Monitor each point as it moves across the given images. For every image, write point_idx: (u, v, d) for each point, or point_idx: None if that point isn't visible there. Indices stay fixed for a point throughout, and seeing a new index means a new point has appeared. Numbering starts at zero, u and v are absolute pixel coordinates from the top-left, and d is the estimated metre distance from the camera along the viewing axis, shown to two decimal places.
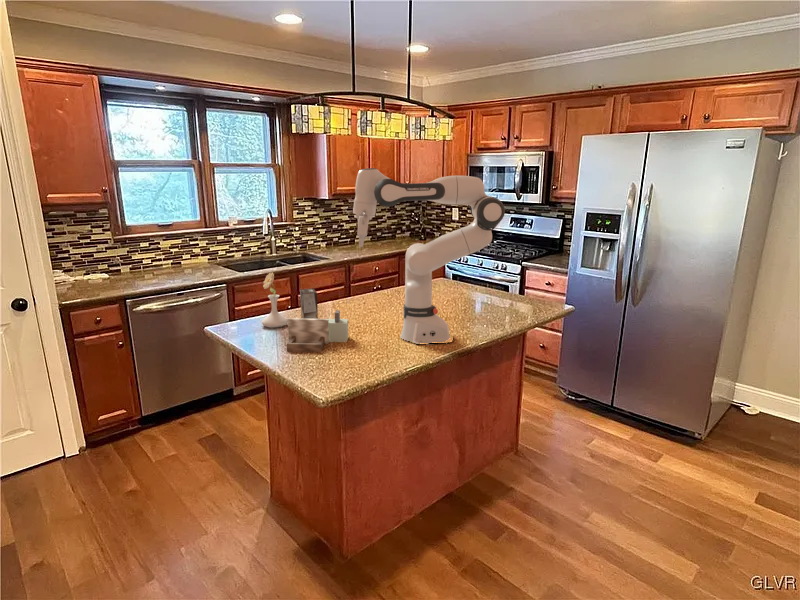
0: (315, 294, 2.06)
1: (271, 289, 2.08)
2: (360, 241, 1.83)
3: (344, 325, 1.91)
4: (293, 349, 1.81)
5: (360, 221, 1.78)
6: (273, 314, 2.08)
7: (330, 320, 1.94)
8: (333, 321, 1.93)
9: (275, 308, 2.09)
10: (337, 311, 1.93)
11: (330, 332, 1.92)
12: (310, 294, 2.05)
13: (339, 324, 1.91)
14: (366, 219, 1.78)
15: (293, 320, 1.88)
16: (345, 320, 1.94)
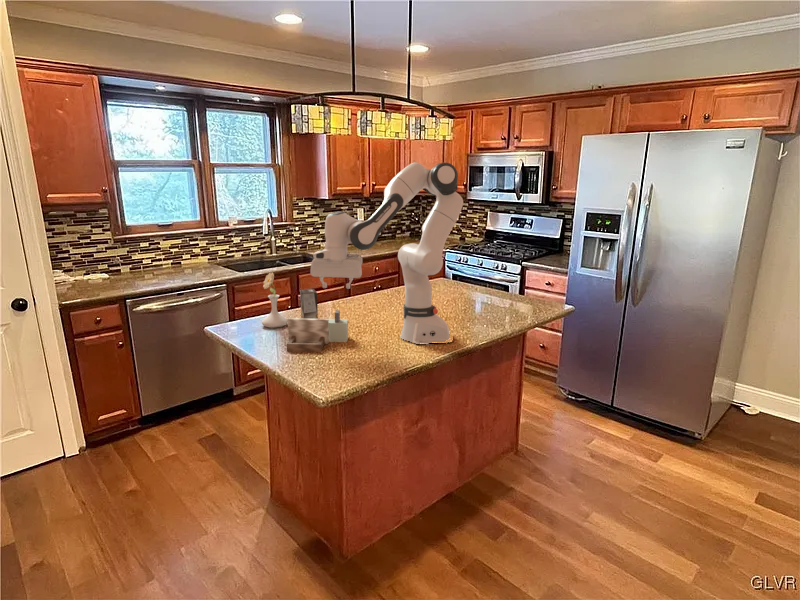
0: (315, 294, 2.06)
1: (271, 289, 2.08)
2: (350, 283, 1.89)
3: (344, 325, 1.91)
4: (293, 349, 1.81)
5: (360, 264, 1.86)
6: (273, 314, 2.08)
7: (330, 320, 1.94)
8: (333, 321, 1.93)
9: (275, 308, 2.09)
10: (337, 311, 1.93)
11: (330, 332, 1.92)
12: (310, 294, 2.05)
13: (339, 324, 1.91)
14: None
15: (293, 320, 1.88)
16: (345, 320, 1.94)
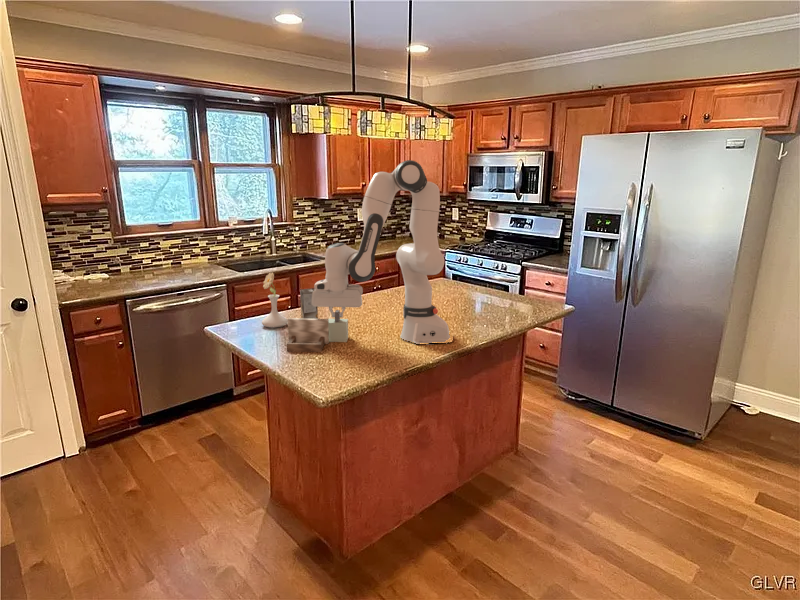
0: None
1: (271, 289, 2.08)
2: None
3: (344, 325, 1.91)
4: (293, 349, 1.81)
5: (360, 294, 1.89)
6: (273, 314, 2.08)
7: (330, 320, 1.94)
8: (333, 321, 1.93)
9: (275, 308, 2.09)
10: (337, 311, 1.93)
11: (330, 332, 1.91)
12: (310, 294, 2.05)
13: (339, 324, 1.91)
14: None
15: (293, 320, 1.88)
16: (345, 320, 1.94)
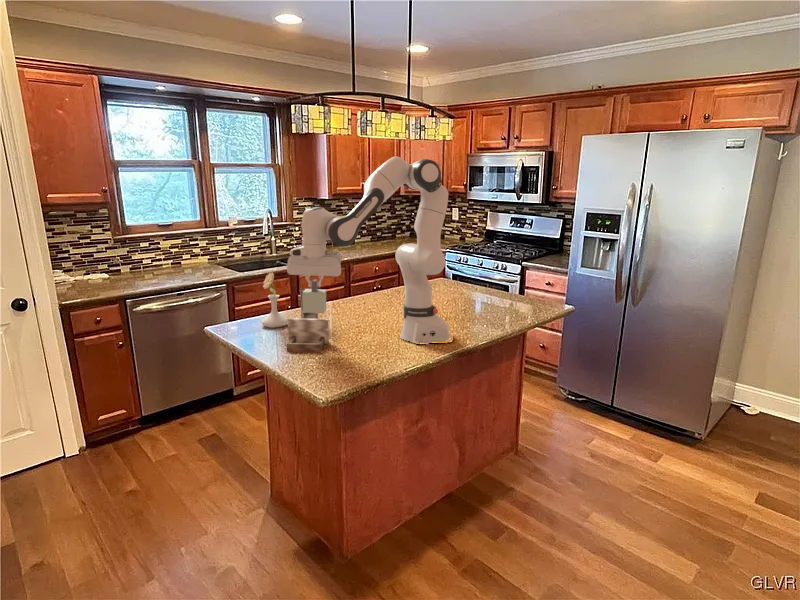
0: None
1: (271, 289, 2.08)
2: (320, 281, 1.81)
3: (321, 295, 1.79)
4: (293, 349, 1.81)
5: (338, 262, 1.78)
6: (273, 314, 2.08)
7: (307, 290, 1.83)
8: (310, 291, 1.81)
9: (275, 308, 2.09)
10: (314, 280, 1.81)
11: (306, 302, 1.80)
12: None
13: (316, 293, 1.79)
14: None
15: (293, 320, 1.88)
16: (323, 290, 1.83)
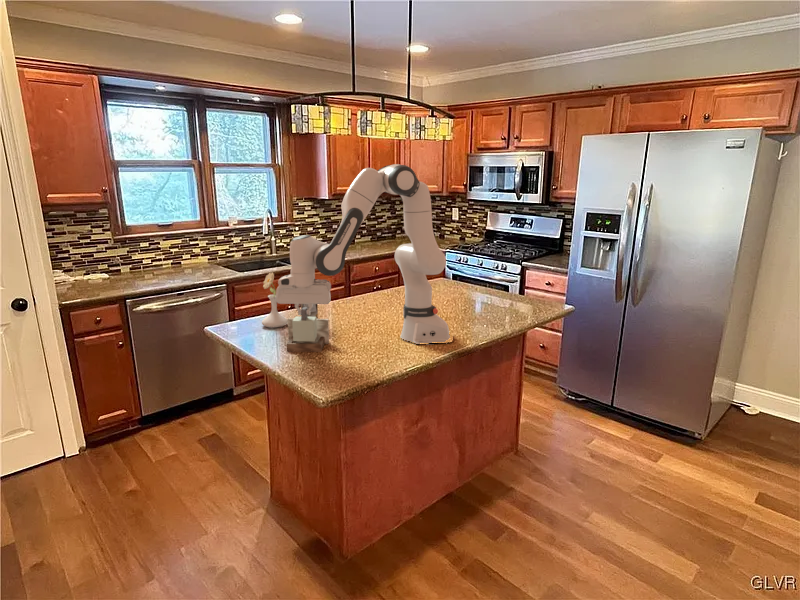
0: None
1: (271, 289, 2.08)
2: (310, 309, 1.79)
3: (311, 323, 1.78)
4: (293, 349, 1.81)
5: (328, 289, 1.76)
6: (273, 314, 2.08)
7: (297, 318, 1.81)
8: (300, 319, 1.80)
9: (275, 308, 2.09)
10: (304, 308, 1.80)
11: (296, 331, 1.79)
12: None
13: (306, 322, 1.78)
14: None
15: None
16: (313, 318, 1.81)
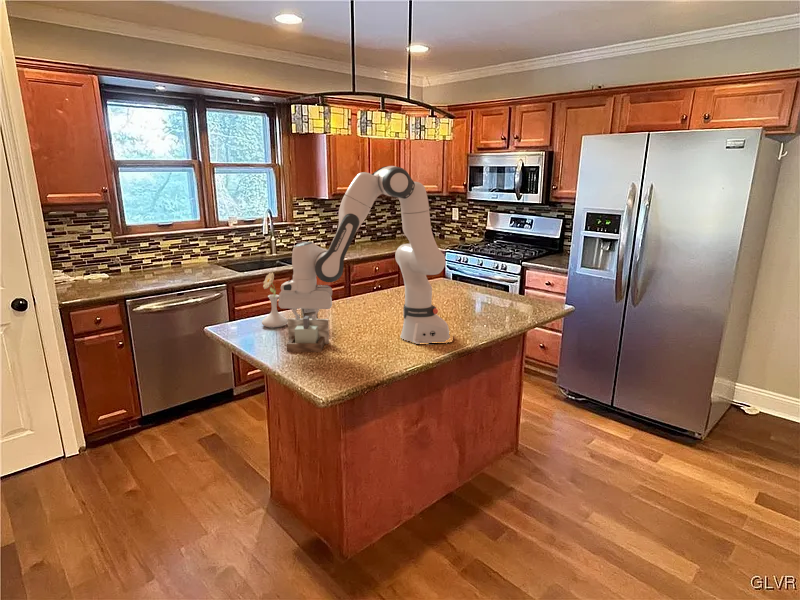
0: None
1: (271, 289, 2.08)
2: (316, 314, 1.83)
3: (313, 331, 1.82)
4: (293, 349, 1.81)
5: (329, 295, 1.80)
6: (273, 314, 2.08)
7: (299, 326, 1.86)
8: (302, 327, 1.84)
9: (275, 308, 2.09)
10: (306, 317, 1.84)
11: (298, 339, 1.83)
12: None
13: (308, 330, 1.82)
14: None
15: (293, 320, 1.88)
16: (315, 326, 1.86)
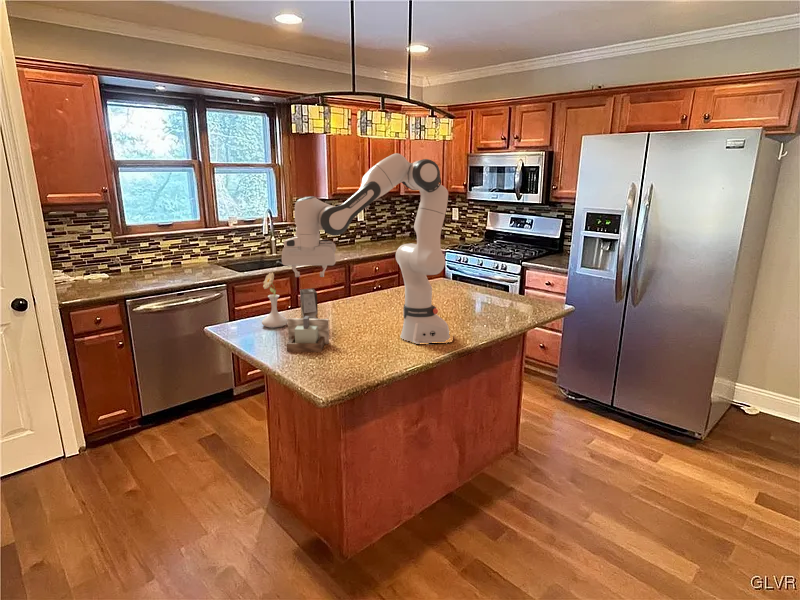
0: (315, 294, 2.06)
1: (271, 289, 2.08)
2: (324, 271, 1.81)
3: (313, 331, 1.82)
4: (293, 349, 1.81)
5: (333, 251, 1.78)
6: (273, 314, 2.08)
7: (299, 326, 1.86)
8: (302, 327, 1.84)
9: (275, 308, 2.09)
10: (306, 317, 1.84)
11: (298, 339, 1.83)
12: (310, 294, 2.05)
13: (308, 330, 1.82)
14: None
15: (293, 320, 1.88)
16: (315, 326, 1.86)
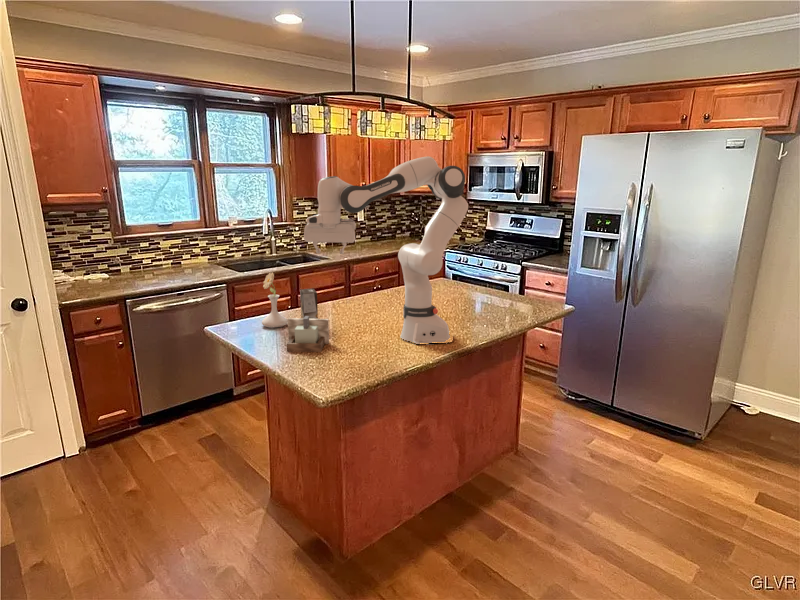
0: (315, 294, 2.06)
1: (271, 289, 2.08)
2: None
3: (313, 331, 1.82)
4: (293, 349, 1.81)
5: (353, 228, 1.87)
6: (273, 314, 2.08)
7: (299, 326, 1.86)
8: (302, 327, 1.84)
9: (275, 308, 2.09)
10: (306, 317, 1.84)
11: (298, 339, 1.83)
12: (310, 294, 2.05)
13: (308, 330, 1.82)
14: None
15: (293, 320, 1.88)
16: (315, 326, 1.86)
